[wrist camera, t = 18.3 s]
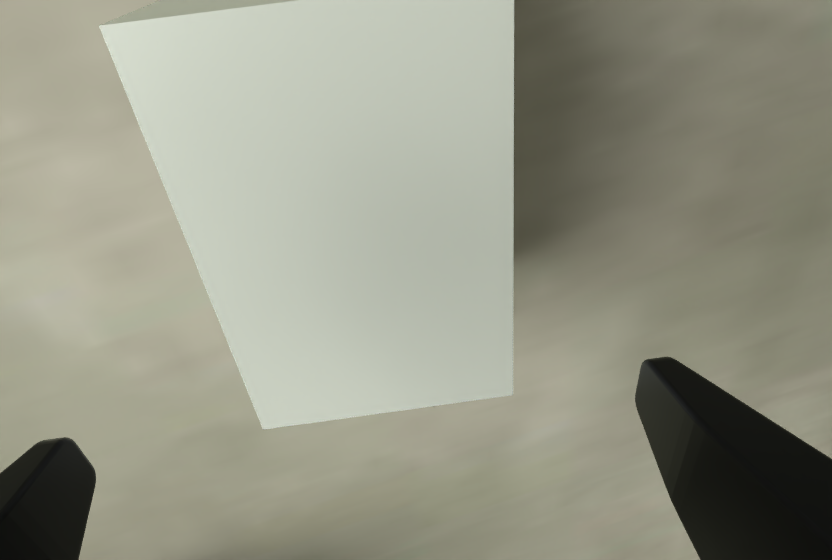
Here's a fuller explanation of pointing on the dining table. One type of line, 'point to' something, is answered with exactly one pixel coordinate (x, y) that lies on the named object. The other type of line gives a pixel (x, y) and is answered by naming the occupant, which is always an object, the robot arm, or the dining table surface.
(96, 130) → the dining table surface
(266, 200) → the pale white box
